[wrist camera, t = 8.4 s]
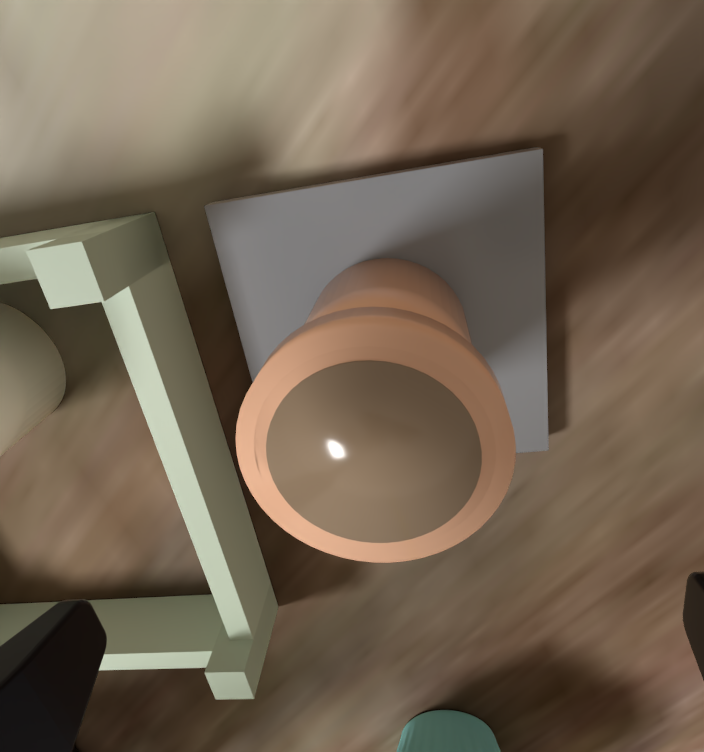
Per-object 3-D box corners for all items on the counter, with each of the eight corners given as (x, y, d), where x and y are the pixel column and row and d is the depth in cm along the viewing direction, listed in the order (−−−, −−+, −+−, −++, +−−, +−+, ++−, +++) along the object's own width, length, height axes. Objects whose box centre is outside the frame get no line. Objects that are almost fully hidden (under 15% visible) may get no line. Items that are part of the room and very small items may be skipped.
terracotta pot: (485, 406, 19) (521, 559, 12) (316, 422, 20) (269, 571, 13) (473, 231, 16) (510, 310, 10) (279, 259, 17) (200, 347, 11)
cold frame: (278, 607, 25) (254, 698, 21) (-23, 619, 28) (-94, 704, 24) (154, 211, 18) (82, 241, 14) (-244, 279, 20) (-401, 320, 16)
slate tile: (543, 438, 20) (548, 450, 19) (281, 460, 22) (277, 472, 21) (537, 146, 16) (543, 148, 15) (212, 202, 17) (203, 206, 17)
